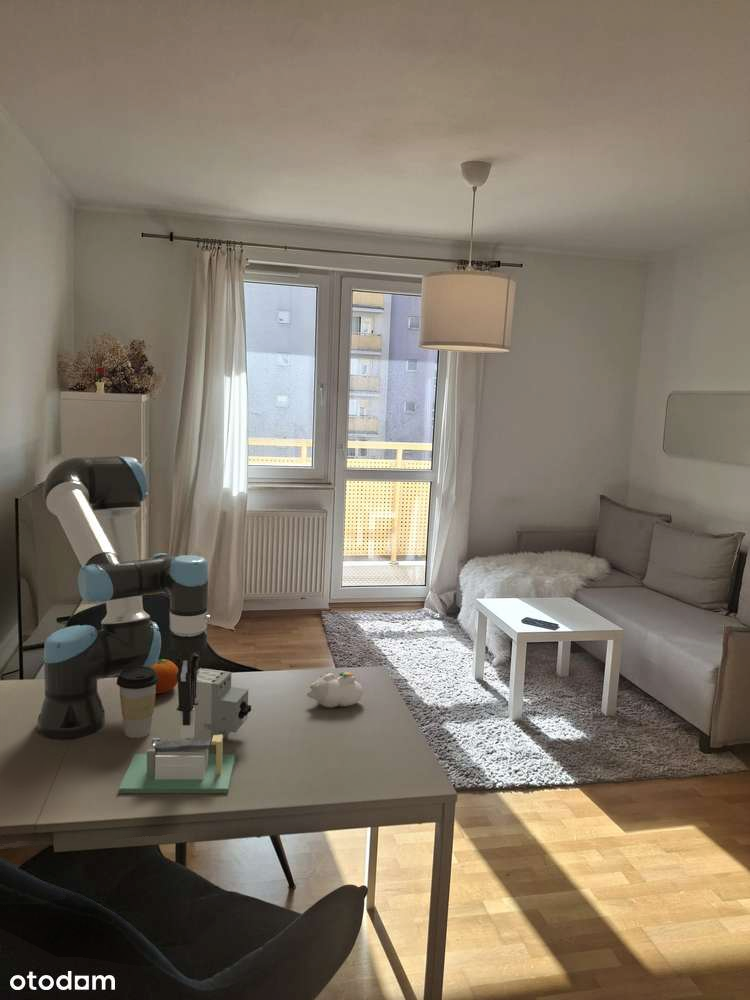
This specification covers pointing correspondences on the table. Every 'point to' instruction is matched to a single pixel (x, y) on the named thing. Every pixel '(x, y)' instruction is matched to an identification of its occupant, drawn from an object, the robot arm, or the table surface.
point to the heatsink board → (177, 785)
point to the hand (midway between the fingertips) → (187, 736)
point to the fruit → (165, 675)
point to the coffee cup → (137, 699)
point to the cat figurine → (336, 690)
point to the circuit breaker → (218, 705)
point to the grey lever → (181, 744)
